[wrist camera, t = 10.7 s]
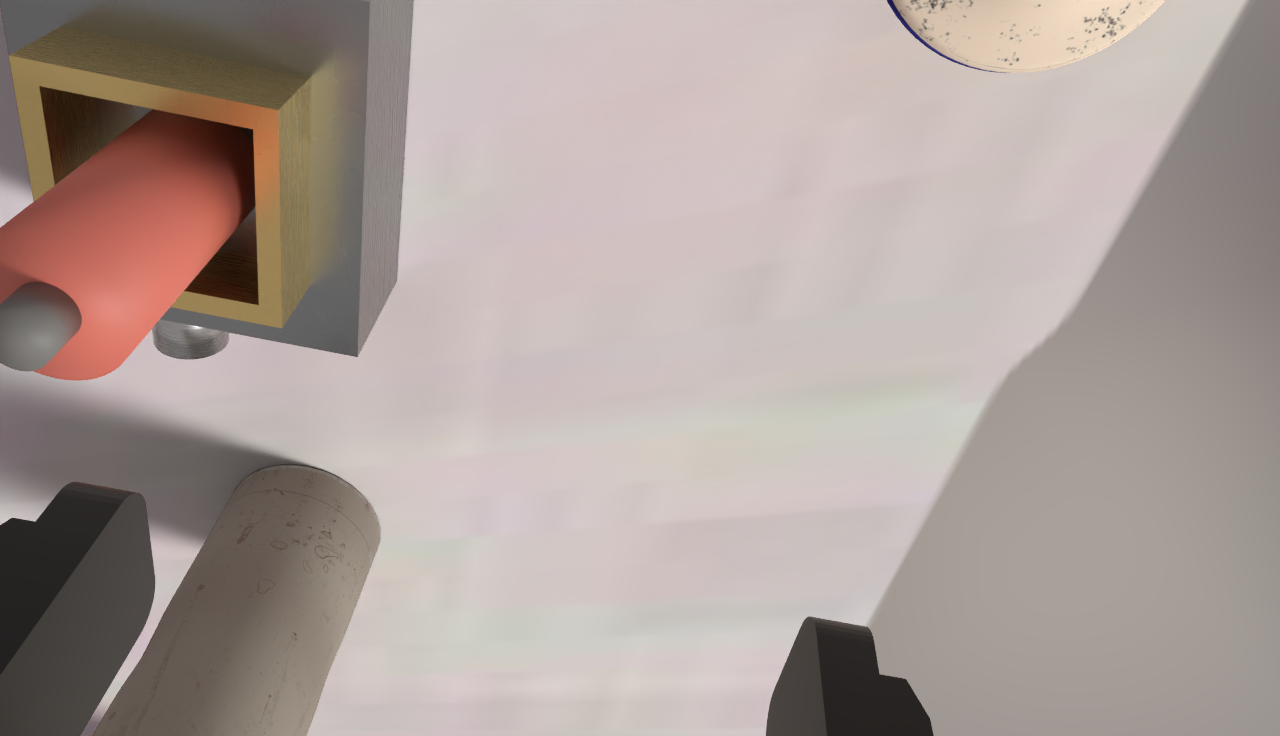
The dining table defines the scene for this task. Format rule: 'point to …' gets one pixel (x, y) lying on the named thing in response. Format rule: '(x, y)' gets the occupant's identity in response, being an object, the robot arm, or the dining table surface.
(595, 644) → the dining table surface
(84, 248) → the oil can
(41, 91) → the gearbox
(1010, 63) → the teacup with lid
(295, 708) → the thermos bottle
